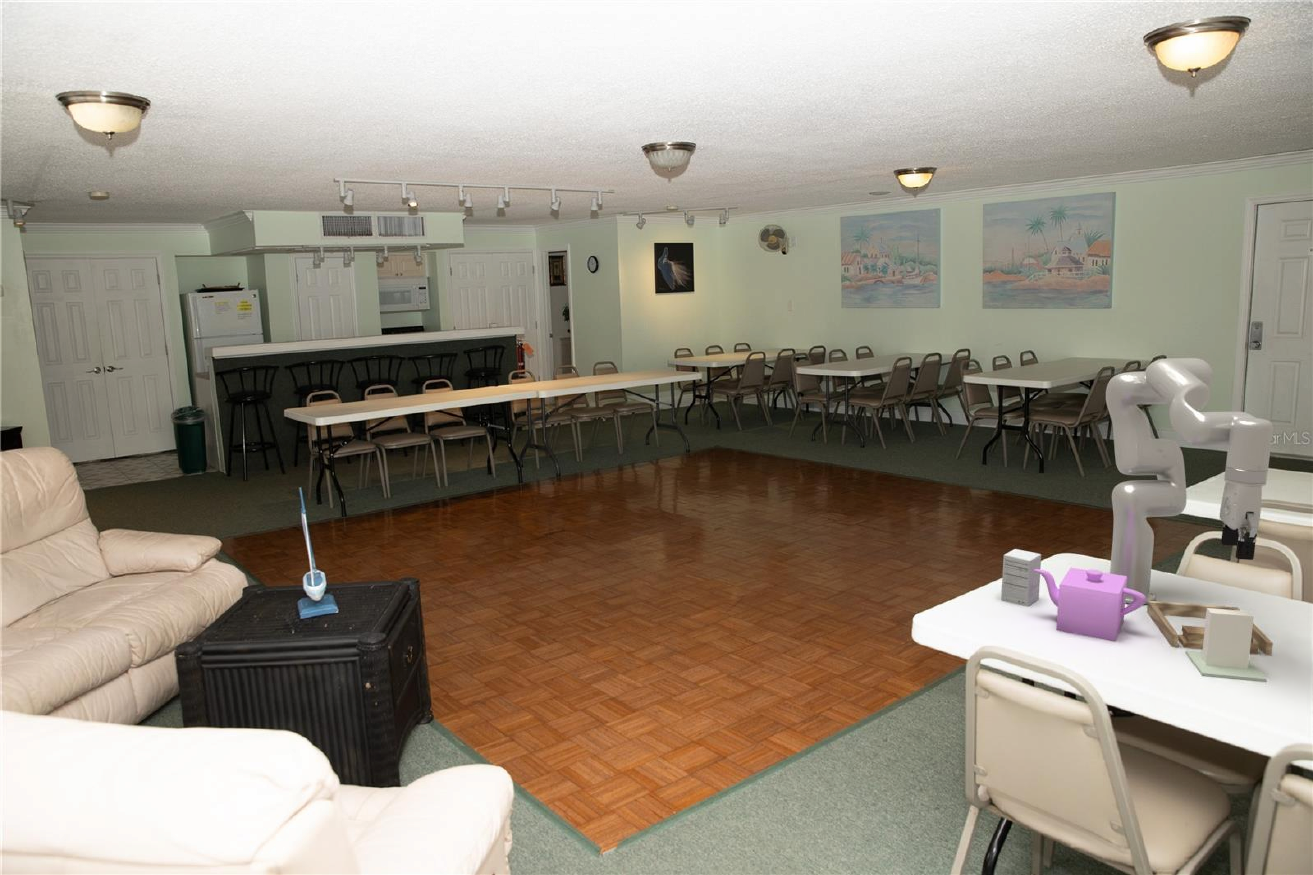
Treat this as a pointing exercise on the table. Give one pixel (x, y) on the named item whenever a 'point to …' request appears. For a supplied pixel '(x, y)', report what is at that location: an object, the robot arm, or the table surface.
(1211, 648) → the cream rectangular block
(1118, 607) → the teapot
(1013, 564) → the supplement box
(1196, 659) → the mat
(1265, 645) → the frame
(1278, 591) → the table surface
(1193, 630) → the offcut stack
